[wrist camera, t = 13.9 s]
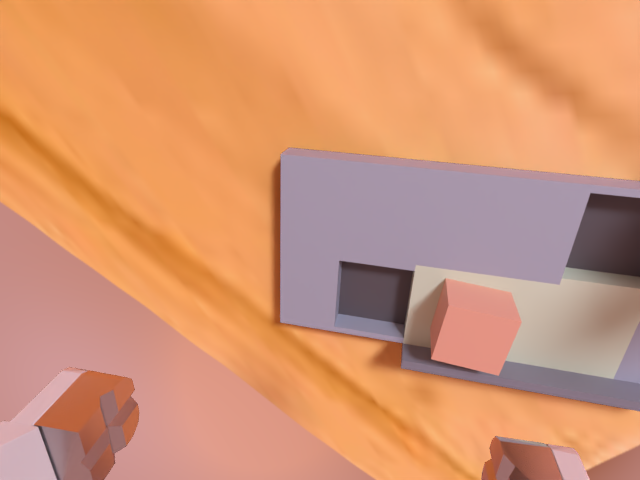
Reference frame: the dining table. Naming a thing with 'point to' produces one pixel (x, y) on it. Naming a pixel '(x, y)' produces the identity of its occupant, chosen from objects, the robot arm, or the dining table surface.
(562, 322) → the board
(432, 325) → the block
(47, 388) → the robot arm
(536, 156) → the dining table surface
